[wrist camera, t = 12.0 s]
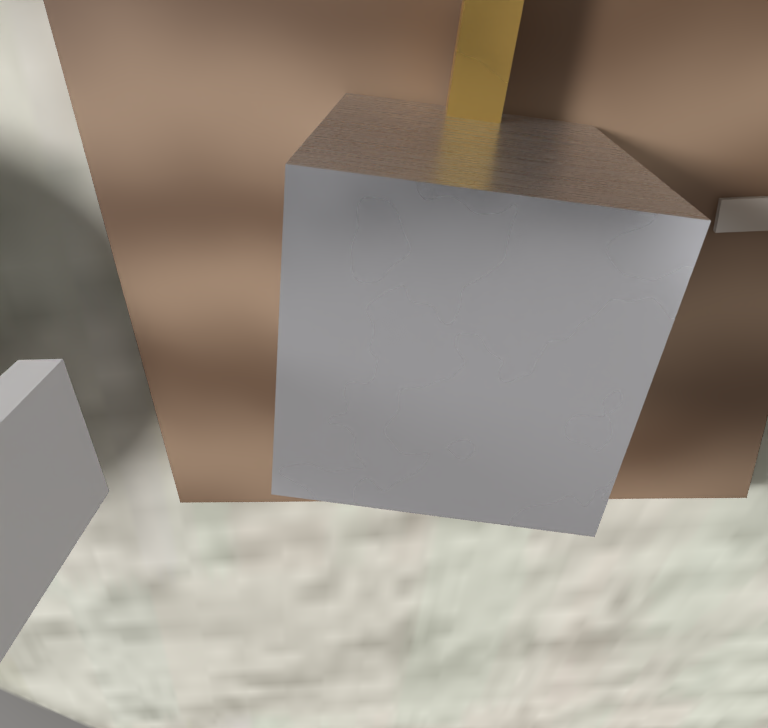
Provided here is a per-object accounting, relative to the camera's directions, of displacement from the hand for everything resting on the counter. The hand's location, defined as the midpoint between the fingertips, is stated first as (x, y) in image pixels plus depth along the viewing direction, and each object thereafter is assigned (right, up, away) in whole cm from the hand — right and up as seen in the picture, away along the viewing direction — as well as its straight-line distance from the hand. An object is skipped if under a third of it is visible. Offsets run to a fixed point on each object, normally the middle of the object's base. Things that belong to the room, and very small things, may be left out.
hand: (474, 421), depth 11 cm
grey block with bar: (+1, +7, +9) cm, 11 cm away
